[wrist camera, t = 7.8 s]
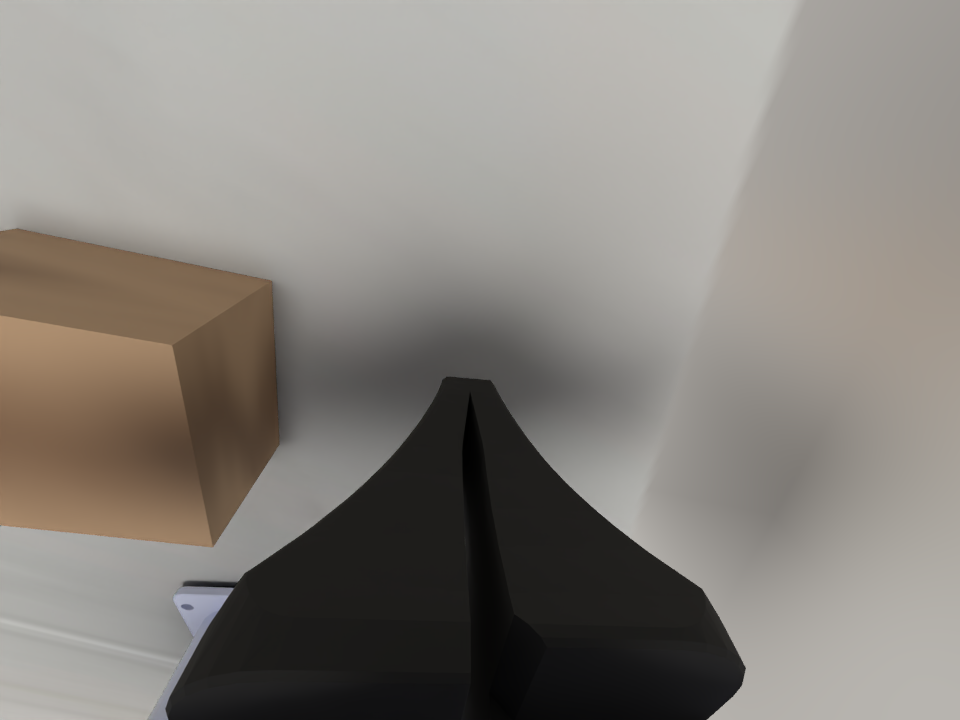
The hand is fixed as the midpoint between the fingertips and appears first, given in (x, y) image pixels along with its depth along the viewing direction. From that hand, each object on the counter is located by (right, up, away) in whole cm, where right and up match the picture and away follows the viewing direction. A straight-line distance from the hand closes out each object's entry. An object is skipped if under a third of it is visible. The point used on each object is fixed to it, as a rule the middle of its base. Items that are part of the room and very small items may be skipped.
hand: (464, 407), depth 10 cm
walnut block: (-9, +2, +1) cm, 9 cm away
